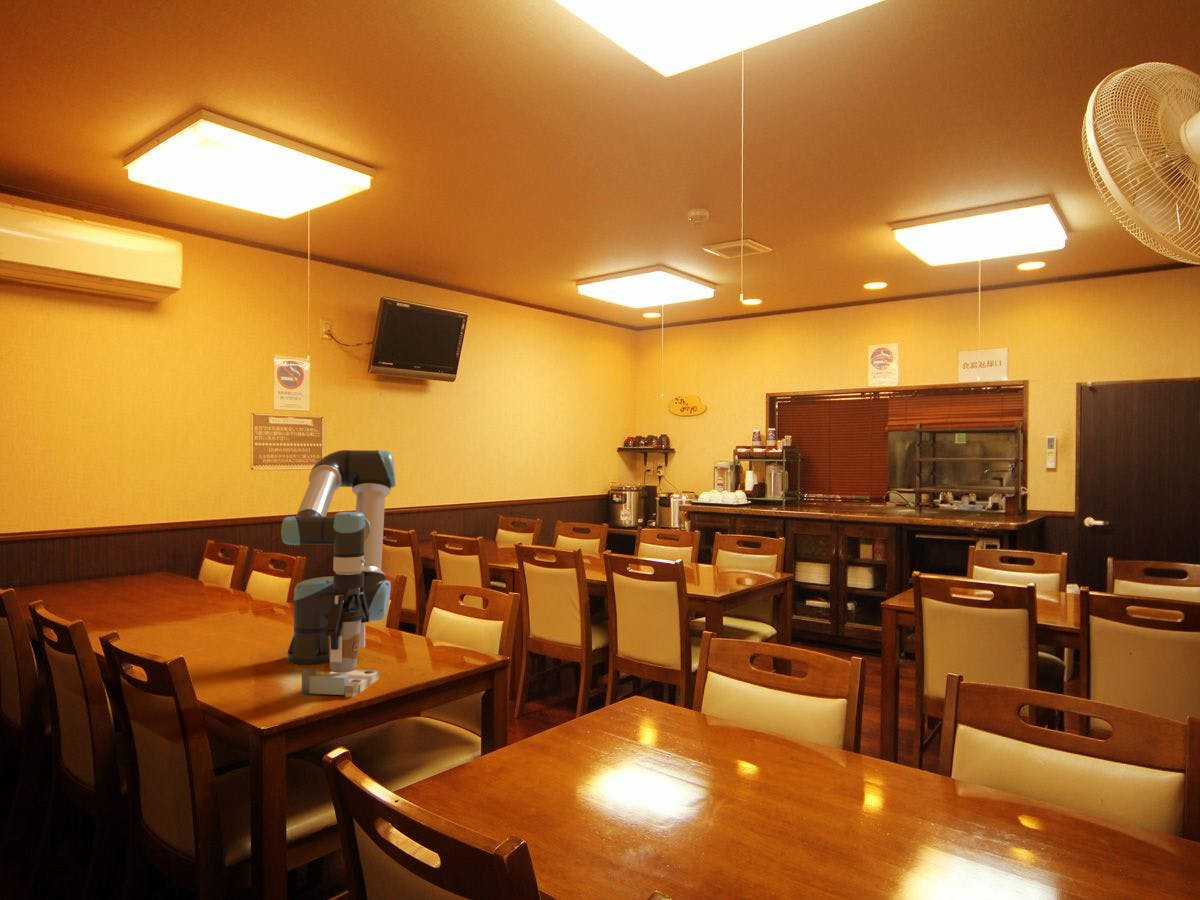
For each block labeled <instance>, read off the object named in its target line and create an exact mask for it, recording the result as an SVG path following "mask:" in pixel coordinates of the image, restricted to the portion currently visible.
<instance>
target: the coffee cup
mask: <svg viewBox="0 0 1200 900" xmlns="http://www.w3.org/2000/svg"><path fill="white" fill-rule="evenodd" d="M329 615H330V614H329ZM329 615H328V619H329ZM361 616H362V614H361V613H360V609H354V608H351V609H350V612H341V617H340V621H341V620H343V621H342V622H343V628H342V631H341V634H340V635H341V636H342V662H329V669H330V672H337V673H344V672H351V671H354V670H355V669H356V668H357V663H358V656H359V639H360V626H361V620H362V617H361ZM329 658H330V636H329Z"/></svg>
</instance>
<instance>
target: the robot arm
mask: <svg viewBox="0 0 1200 900" xmlns="http://www.w3.org/2000/svg"><path fill="white" fill-rule="evenodd" d="M396 481H397V480H396V471H395V463H394V456H393V453H391V452H390V451H389V450H380V449H377V450H374V449H373V450H372V449H371V450H368V449H367V450H362V449H361V450H360V449H359V450H357V449H356V450H353V449H352V450H349V449H348V450H347V449H342V450H338V451H334V452H332V453H329V454H327V455H325V456H323V458H321V459H320V460H318V461H317V462H316V463H315V464H314V465H313V467H312V469H311V471H310V473H309V476H308V483H309V484H308V486H307V489H306V491H305V493H304V496H303V498H302V500H301V503H300V505H299V508H298V510H297V513H296V514H295V516H294V515H292V516H286V517H284V518H283V520H282V523H281V530H280V531H281V533H280V534H281V535H280V536H281V540H282V543H284V544H285V545H291V546H307V545H309V546H310V545H311V546H314V545H333V565H332V567H333V570H332V571H333V572H334V574H333V576H321V577H320V576H319V577H313V578H310V579H305V580H303V581H300V582H298V583H297V584H296V585H295V587H294V591H293V592H294V593H293V594H294V596H293V599H292V601H293V635H292V637H291V641H290V643H289V646H288V650H287V653H286V662H287V663H288V662H289V663H288V664H291V663H292V664H291V665H295V664H297V665H296V666H311V665H313V666H314V665H315V666H316V665H323V664H328V663H330V662H342V636H341V635H340V634H341V631H342V628H343V622H342V621H343V620H341V621H340V617H341V612H350V609H351V608H354V609H360V613H361V614H362V616H361V617H362V620H361V626H360V639H359V648H360V649H361V648H362V649H363V648H366V623H369V622H375V621H381V620H383V619H384V618H385V617H386V614H387V612H388V609H389V604H390V598H391V591H392V590H391V589H392V583H391V581H390V580H388V579H387V574H385V572H384V571H382V570H383V569H382V566H383V565H382V562H383V561H382V560H383V545H384V544H383V542H384V527H385V526H384V524H385V507H386V506H385V505H386V497H387V496H389V495H390V493H391V490H392V489H391V488H395V487H396V486H397V482H396ZM342 487H343V488H349V487H350V488H351V491H352V493H353V494H354V495H355V496H356V502H355V511H341V512H337V513H335V514H334V516H327V514H328V511H329V508H330V505H331V503H332V500H333V497H334V494H335V492H336V491H338V489H340V488H342ZM329 614H330V615H329ZM328 615H329V619H328ZM329 636H330V658H329Z"/></svg>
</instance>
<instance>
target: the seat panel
mask: <svg viewBox="0 0 1200 900" xmlns="http://www.w3.org/2000/svg"><path fill="white" fill-rule="evenodd" d="M380 671H381V670H376V669H375V670H373V669H356V668H355V670H354V671H351V672H344V673H337V672H332V671H330V672H329V673H328V674H343V675H349V683H348V684H347V685H345V695H344V697H345V698H354V697H355V696H357V695H359V694H360V693H362V692H363V691H364V690H366V689H367V688H369V687H370V686H372V685H373V684H374V683H376V682H377V681H378V680H380V679H381V677H380V676H381V674H380V673H381V672H380ZM298 695H299V697H304V698H305V697H313V696H316V695H317V694H313V693H308V694H305V693H302V691H300V692H299V693H298Z"/></svg>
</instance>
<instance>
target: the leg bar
mask: <svg viewBox="0 0 1200 900" xmlns="http://www.w3.org/2000/svg"><path fill="white" fill-rule="evenodd" d="M348 683H349V675H343V674H329V673H319V672H318V673H317V672H316V669H305V670H302V671H301V692H302V693H305V694H308V693H313V694H316V695H335V696H336V695H338V696H345V685H347V684H348Z"/></svg>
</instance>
